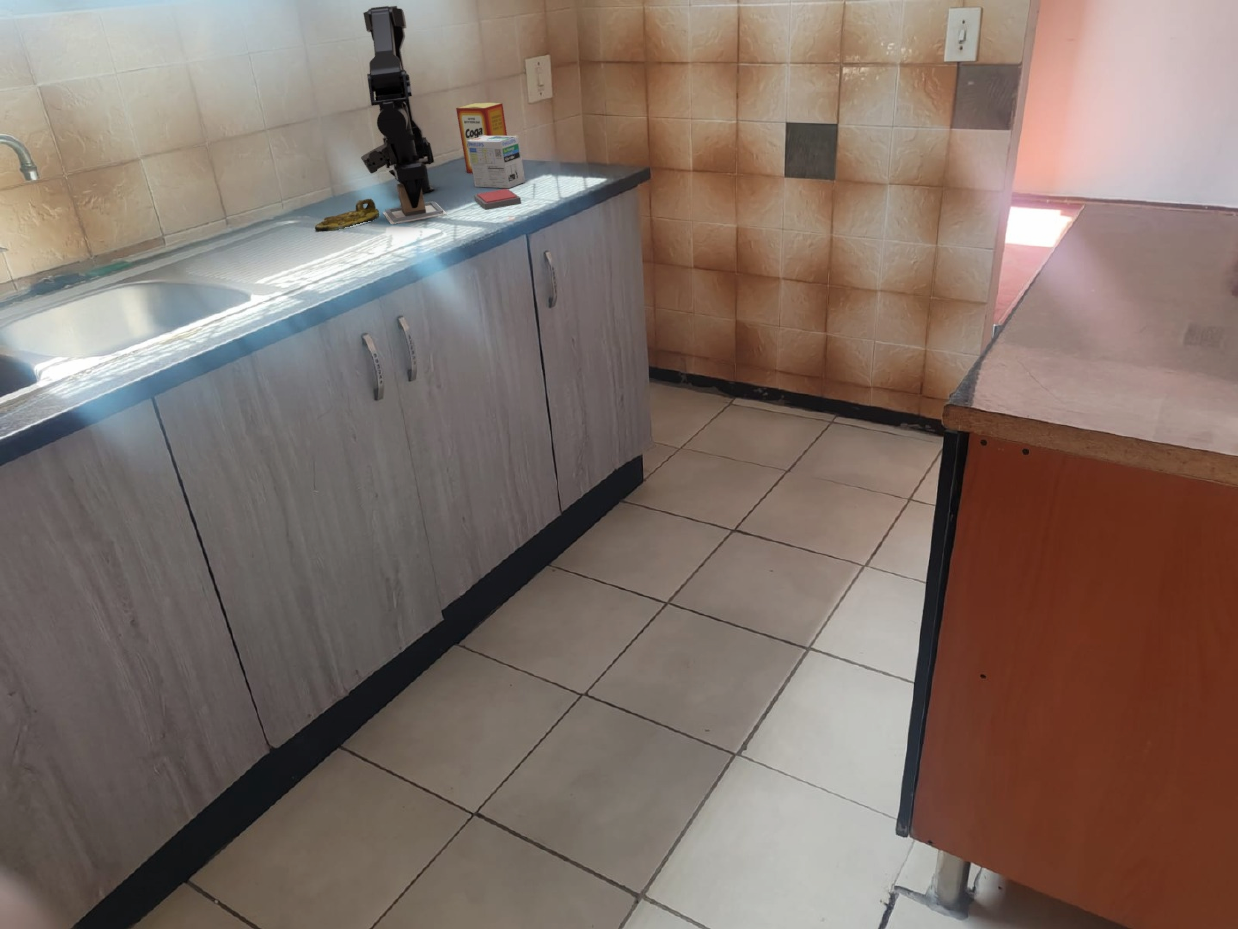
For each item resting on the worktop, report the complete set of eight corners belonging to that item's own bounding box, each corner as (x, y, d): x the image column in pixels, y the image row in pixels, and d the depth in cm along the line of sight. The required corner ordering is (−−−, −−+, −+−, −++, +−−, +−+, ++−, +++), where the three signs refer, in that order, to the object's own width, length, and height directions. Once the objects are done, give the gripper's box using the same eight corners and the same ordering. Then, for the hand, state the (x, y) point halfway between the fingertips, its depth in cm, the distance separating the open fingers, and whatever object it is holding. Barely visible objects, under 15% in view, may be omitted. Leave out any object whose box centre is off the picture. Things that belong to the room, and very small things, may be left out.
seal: (328, 241, 194) (390, 222, 202) (324, 219, 191) (386, 201, 200) (306, 230, 199) (367, 212, 208) (302, 208, 197) (363, 191, 205)
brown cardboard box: (402, 212, 203) (396, 184, 200) (422, 208, 204) (417, 180, 201) (405, 216, 199) (399, 188, 196) (426, 212, 200) (420, 184, 198)
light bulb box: (526, 182, 219) (519, 134, 214) (508, 189, 215) (501, 140, 209) (491, 180, 225) (484, 134, 220) (473, 187, 220) (465, 140, 215)
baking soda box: (467, 172, 235) (455, 106, 228) (484, 167, 240) (473, 101, 232) (495, 174, 230) (484, 106, 223) (511, 168, 235) (502, 101, 227)
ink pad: (474, 200, 207) (473, 193, 207) (509, 194, 210) (508, 187, 209) (485, 209, 199) (484, 202, 198) (521, 203, 201) (520, 196, 200)
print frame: (382, 213, 205) (382, 209, 205) (436, 203, 208) (435, 199, 208) (391, 224, 195) (390, 220, 195) (447, 214, 198) (446, 210, 198)
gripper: (353, 130, 199) (369, 203, 207) (365, 142, 183) (382, 221, 191) (404, 122, 202) (419, 194, 210) (420, 134, 186) (435, 211, 194)
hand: (412, 205), depth 201 cm, fingers closed on brown cardboard box, 4 cm apart
